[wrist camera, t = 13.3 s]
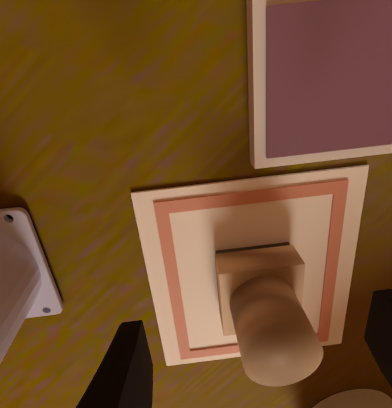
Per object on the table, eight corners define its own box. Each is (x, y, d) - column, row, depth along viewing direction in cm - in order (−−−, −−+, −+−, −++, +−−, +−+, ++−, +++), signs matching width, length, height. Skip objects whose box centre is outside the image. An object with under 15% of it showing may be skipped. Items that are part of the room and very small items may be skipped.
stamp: (218, 307, 22) (235, 398, 16) (213, 249, 20) (231, 330, 14) (287, 298, 22) (328, 385, 16) (290, 240, 20) (338, 316, 14)
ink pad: (249, 161, 18) (256, 170, 16) (246, -4, 14) (253, -10, 13) (386, 146, 18) (404, 153, 17) (416, -22, 14) (441, -30, 13)
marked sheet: (166, 363, 25) (166, 367, 24) (131, 192, 18) (130, 194, 18) (340, 341, 25) (342, 345, 25) (367, 164, 18) (370, 166, 18)
